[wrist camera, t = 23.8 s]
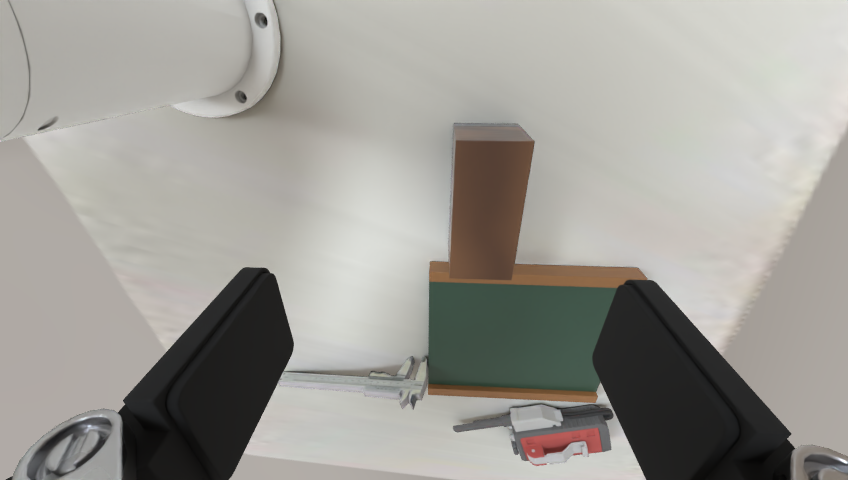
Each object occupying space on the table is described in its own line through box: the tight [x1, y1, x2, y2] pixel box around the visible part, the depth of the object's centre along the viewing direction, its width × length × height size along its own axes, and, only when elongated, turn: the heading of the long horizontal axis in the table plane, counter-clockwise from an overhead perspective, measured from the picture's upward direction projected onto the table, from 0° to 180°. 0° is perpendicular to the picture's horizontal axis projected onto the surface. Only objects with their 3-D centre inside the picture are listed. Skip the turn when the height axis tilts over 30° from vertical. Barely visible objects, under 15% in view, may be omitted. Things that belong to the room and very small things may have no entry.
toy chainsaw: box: [453, 405, 613, 466], centre depth 43 cm, size 9×4×20 cm
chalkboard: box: [428, 262, 647, 403], centre depth 36 cm, size 20×18×2 cm
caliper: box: [278, 356, 428, 409], centre depth 39 cm, size 20×1×6 cm, turn 103°
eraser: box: [448, 123, 534, 280], centre depth 26 cm, size 5×11×6 cm, turn 0°
